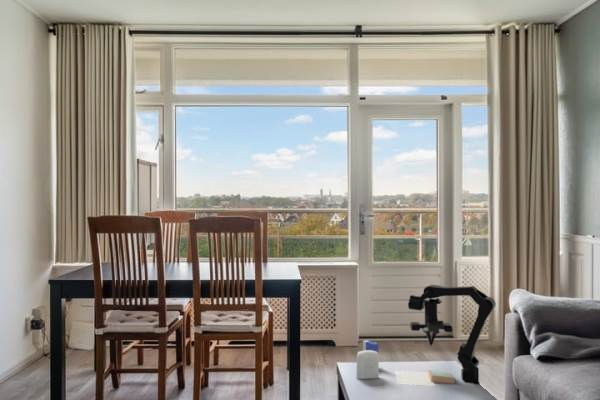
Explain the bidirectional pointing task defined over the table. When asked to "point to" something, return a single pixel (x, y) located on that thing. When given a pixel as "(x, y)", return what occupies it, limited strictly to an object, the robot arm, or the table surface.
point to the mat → (413, 378)
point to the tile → (441, 376)
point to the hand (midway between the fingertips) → (430, 345)
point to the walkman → (370, 346)
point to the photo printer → (367, 364)
